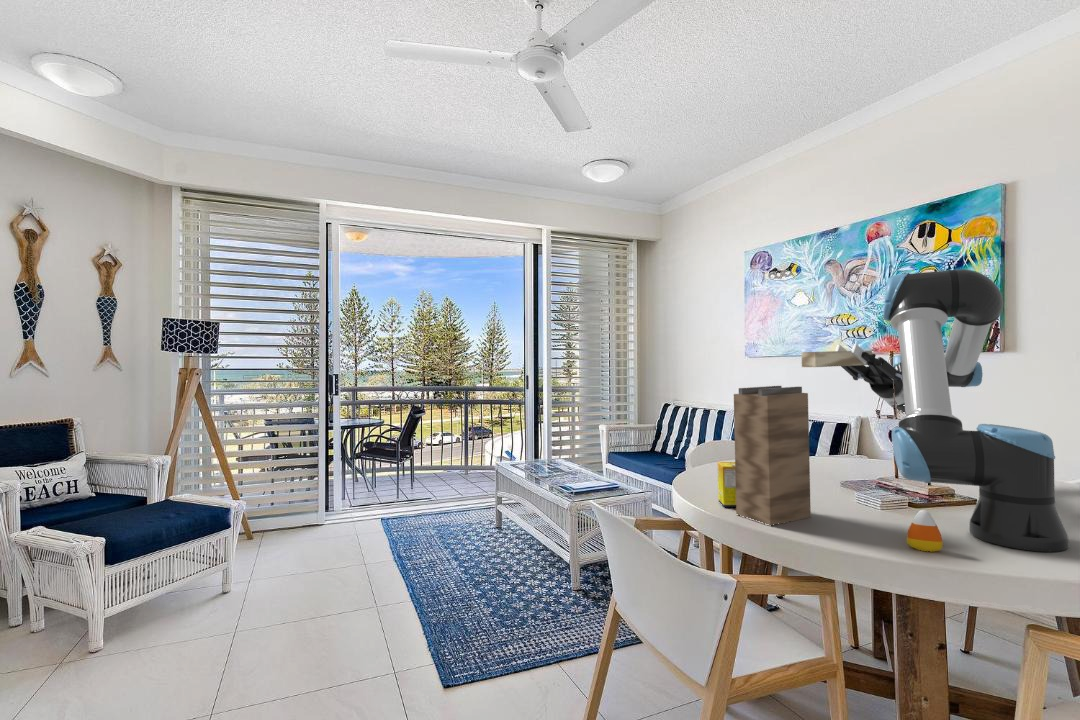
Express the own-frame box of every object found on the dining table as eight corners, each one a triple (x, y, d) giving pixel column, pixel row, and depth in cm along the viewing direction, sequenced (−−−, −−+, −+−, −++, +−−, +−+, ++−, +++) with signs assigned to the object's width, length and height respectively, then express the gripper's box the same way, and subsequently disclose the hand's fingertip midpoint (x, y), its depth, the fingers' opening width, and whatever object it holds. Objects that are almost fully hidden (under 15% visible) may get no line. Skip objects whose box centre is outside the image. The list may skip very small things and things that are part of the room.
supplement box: (740, 501, 141) (739, 461, 141) (747, 508, 135) (746, 466, 135) (717, 501, 142) (717, 461, 142) (723, 508, 136) (722, 466, 136)
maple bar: (872, 364, 146) (871, 350, 146) (815, 367, 135) (815, 351, 135) (858, 364, 150) (857, 350, 150) (801, 367, 139) (801, 352, 139)
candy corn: (941, 549, 104) (940, 509, 104) (945, 554, 102) (944, 513, 102) (905, 545, 107) (904, 506, 107) (907, 550, 104) (907, 510, 104)
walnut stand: (810, 516, 127) (807, 386, 127) (770, 526, 120) (767, 389, 120) (775, 506, 136) (772, 385, 136) (736, 515, 129) (733, 387, 129)
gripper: (918, 400, 145) (872, 360, 136) (857, 397, 160) (812, 360, 151) (925, 376, 146) (880, 335, 137) (864, 375, 162) (820, 338, 153)
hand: (845, 348), depth 144 cm, fingers closed on maple bar, 4 cm apart
